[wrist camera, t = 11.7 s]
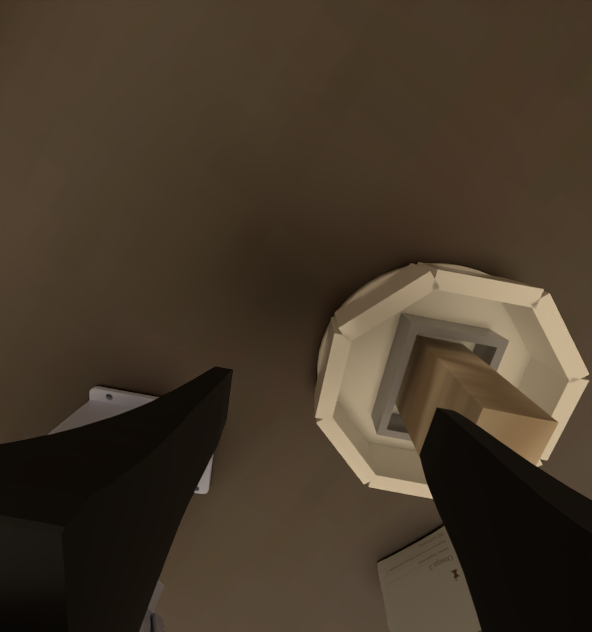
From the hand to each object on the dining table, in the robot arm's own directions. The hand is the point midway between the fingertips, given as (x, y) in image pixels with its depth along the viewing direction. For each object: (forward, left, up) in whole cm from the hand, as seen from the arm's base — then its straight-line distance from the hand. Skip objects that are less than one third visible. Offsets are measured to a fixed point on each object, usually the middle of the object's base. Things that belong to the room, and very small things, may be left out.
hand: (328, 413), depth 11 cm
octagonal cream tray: (+7, -2, -10) cm, 13 cm away
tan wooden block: (+7, -2, -9) cm, 12 cm away
